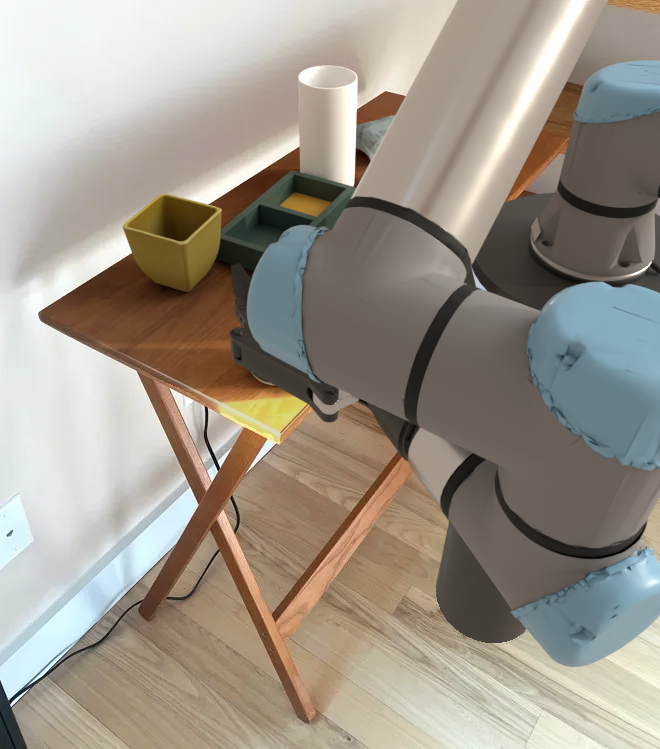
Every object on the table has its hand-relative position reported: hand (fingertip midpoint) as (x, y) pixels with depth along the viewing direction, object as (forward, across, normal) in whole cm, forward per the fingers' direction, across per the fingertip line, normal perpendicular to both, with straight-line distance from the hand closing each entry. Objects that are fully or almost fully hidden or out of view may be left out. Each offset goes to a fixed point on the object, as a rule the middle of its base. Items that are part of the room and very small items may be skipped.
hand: (313, 257), depth 60 cm
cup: (+44, +23, -20) cm, 54 cm away
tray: (+34, +12, -20) cm, 41 cm away
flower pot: (+30, -4, -20) cm, 37 cm away
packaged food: (+49, +36, -20) cm, 63 cm away
